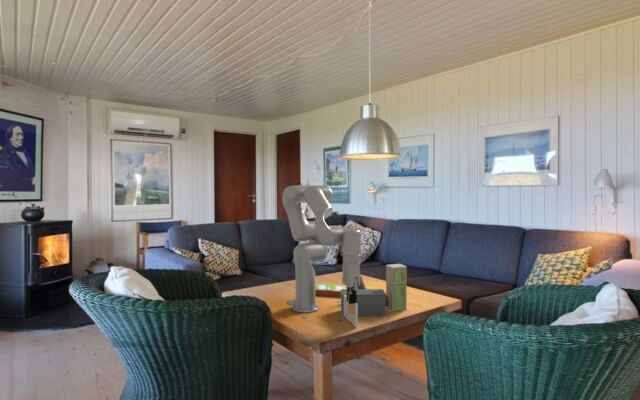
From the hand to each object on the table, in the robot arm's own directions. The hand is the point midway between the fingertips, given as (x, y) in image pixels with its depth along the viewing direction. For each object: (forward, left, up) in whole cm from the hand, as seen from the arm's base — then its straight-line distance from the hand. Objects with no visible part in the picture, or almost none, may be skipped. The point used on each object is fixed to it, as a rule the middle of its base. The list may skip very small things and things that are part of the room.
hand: (351, 302), depth 168 cm
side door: (-1, +6, -10) cm, 12 cm away
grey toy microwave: (+7, +19, -11) cm, 23 cm away
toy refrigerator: (+24, +25, -11) cm, 36 cm away
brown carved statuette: (+9, +36, -11) cm, 39 cm away
